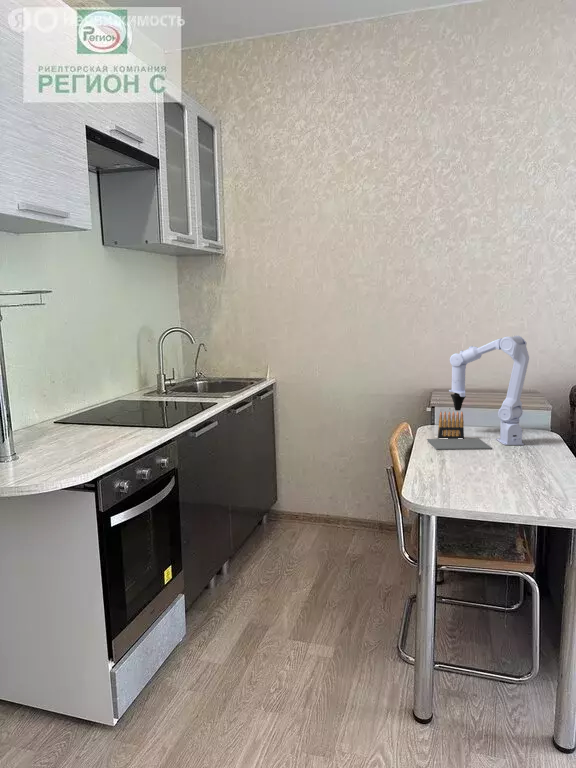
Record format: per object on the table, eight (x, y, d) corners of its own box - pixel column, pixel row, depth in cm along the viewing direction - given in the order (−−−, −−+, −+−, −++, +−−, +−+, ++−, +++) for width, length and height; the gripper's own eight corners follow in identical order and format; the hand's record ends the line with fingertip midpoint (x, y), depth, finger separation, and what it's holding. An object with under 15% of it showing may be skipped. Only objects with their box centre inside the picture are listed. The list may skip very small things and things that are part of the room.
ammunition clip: (463, 438, 233) (463, 410, 231) (463, 439, 231) (464, 411, 229) (437, 437, 234) (438, 410, 232) (438, 438, 232) (438, 411, 230)
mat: (492, 449, 213) (492, 447, 213) (436, 450, 214) (436, 448, 214) (478, 439, 229) (478, 438, 229) (426, 440, 230) (426, 439, 229)
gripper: (445, 378, 246) (444, 407, 248) (454, 382, 232) (453, 413, 233) (460, 378, 246) (459, 407, 248) (470, 382, 231) (469, 413, 233)
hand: (457, 410), depth 240 cm, fingers closed
